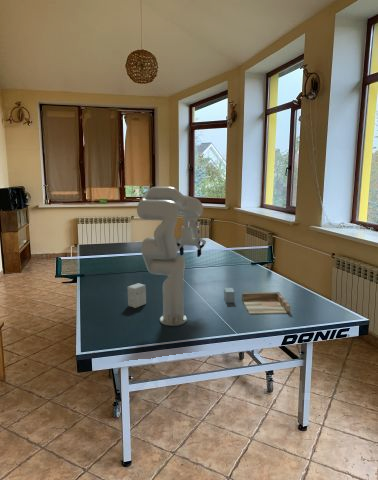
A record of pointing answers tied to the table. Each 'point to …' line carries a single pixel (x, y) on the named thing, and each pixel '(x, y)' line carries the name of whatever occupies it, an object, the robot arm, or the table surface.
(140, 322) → the table surface
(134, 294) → the small box
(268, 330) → the table surface
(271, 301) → the wooden tray
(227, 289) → the grey block
